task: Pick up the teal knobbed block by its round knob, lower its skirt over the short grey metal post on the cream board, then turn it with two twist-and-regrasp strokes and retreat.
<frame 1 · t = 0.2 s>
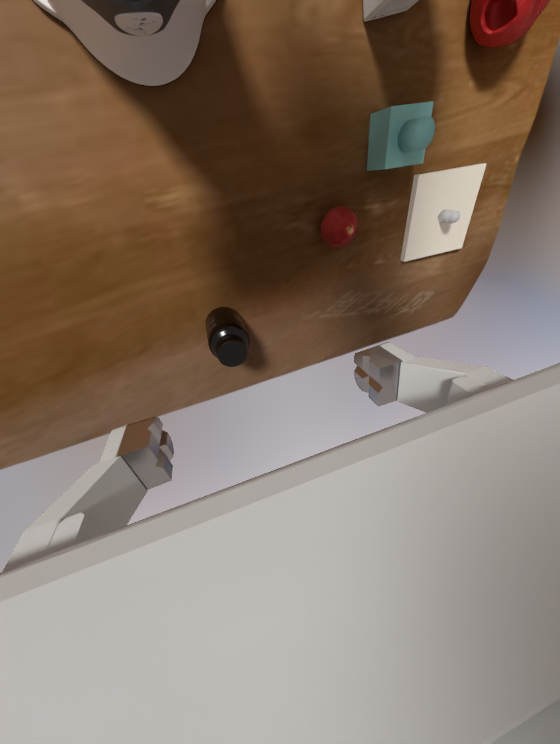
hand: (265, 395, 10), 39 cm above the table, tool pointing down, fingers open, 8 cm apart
supplement bottle: (223, 322, 49), on the table
post stand: (437, 215, 50), on the table
onion: (328, 224, 45), on the table
pomegranate: (490, 0, 35), on the table
teal knobbed block: (387, 141, 40), on the table
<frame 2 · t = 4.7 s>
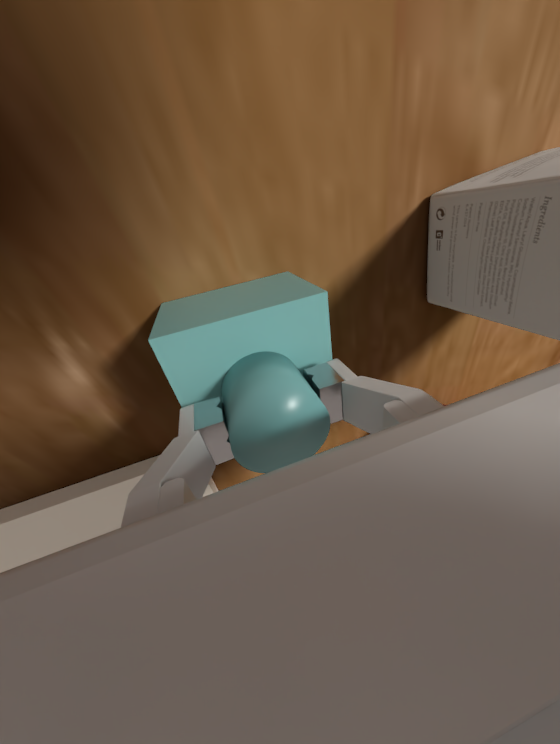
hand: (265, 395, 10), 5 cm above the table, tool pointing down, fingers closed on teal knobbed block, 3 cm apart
skincare box: (479, 227, 16), on the table
post stand: (136, 534, 20), on the table
teal knobbed block: (243, 343, 15), on the table, touching gripper
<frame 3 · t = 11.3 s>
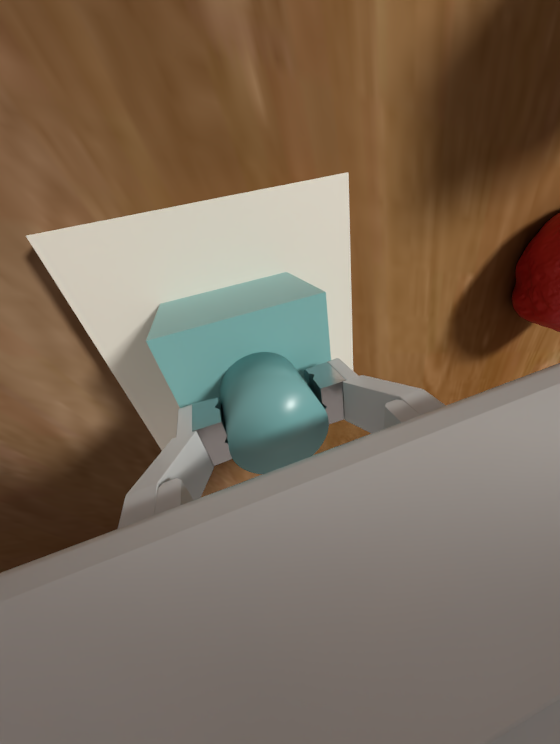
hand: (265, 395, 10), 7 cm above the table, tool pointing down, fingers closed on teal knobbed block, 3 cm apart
post stand: (239, 336, 16), on the table
pomegranate: (545, 259, 21), on the table
teal knobbed block: (241, 344, 15), point 1 cm above the table, touching gripper, post stand
when the fingers open (8 cm above the table, at t = 15.5 s): teal knobbed block drops 1 cm, resting on post stand.
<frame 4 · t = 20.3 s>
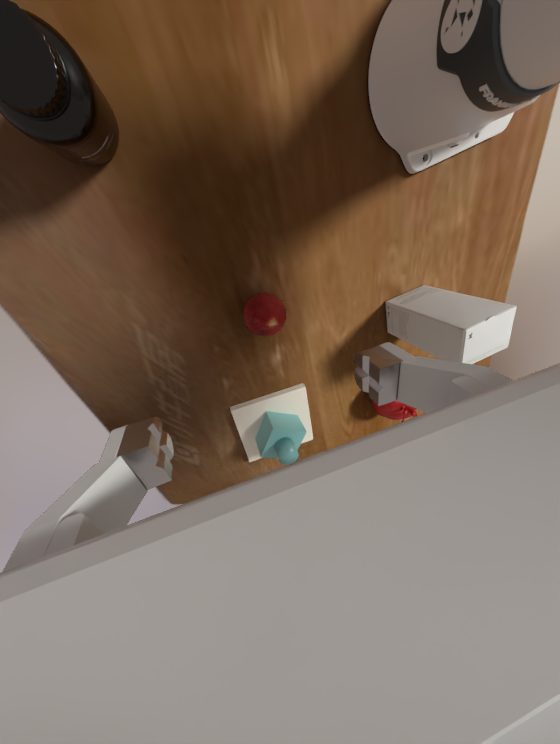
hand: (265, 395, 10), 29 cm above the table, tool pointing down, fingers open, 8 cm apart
skincare box: (404, 307, 46), on the table
supplement bottle: (80, 122, 25), on the table
post stand: (274, 422, 51), on the table
onion: (258, 307, 39), on the table
pomegranate: (385, 387, 55), on the table
teal knobbed block: (276, 426, 50), point 1 cm above the table, touching post stand
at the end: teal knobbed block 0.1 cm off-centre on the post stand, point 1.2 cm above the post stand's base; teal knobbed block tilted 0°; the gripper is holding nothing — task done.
